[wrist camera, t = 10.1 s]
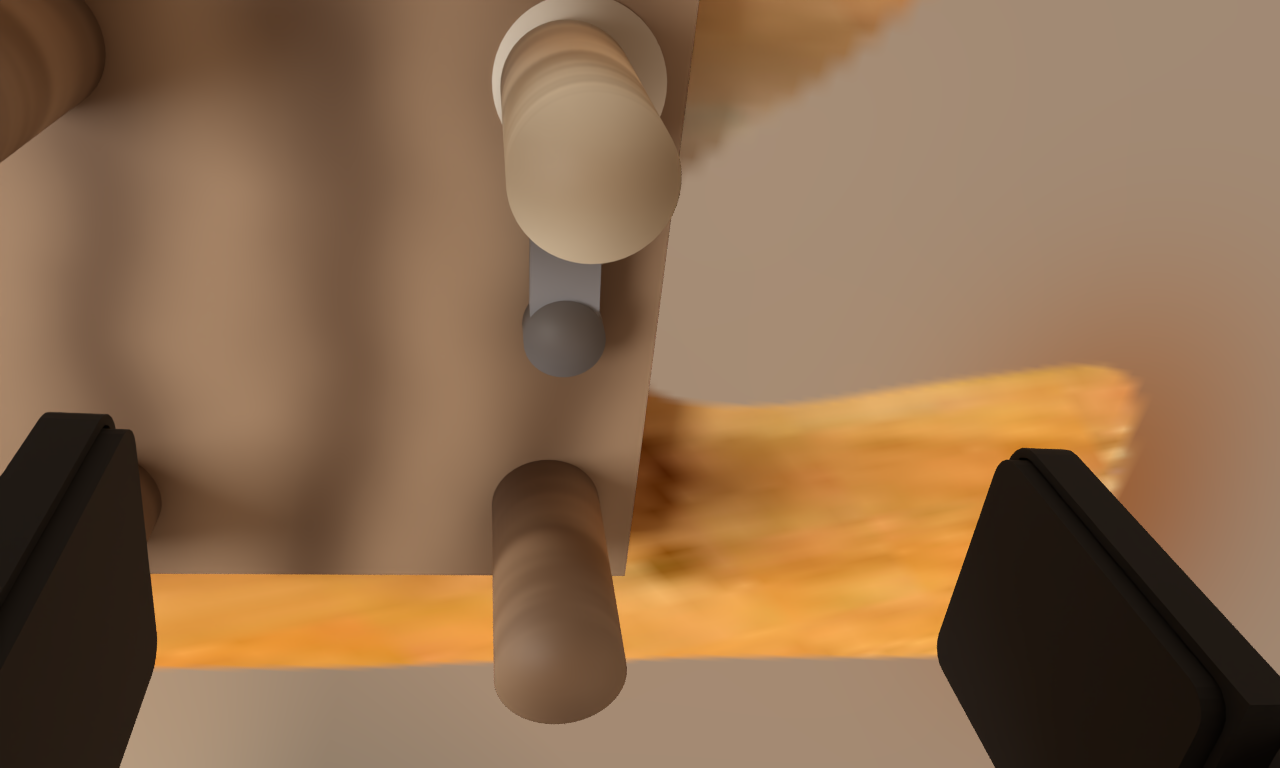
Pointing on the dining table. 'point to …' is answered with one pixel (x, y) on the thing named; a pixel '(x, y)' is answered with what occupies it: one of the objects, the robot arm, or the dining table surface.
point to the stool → (328, 300)
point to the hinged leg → (579, 180)
